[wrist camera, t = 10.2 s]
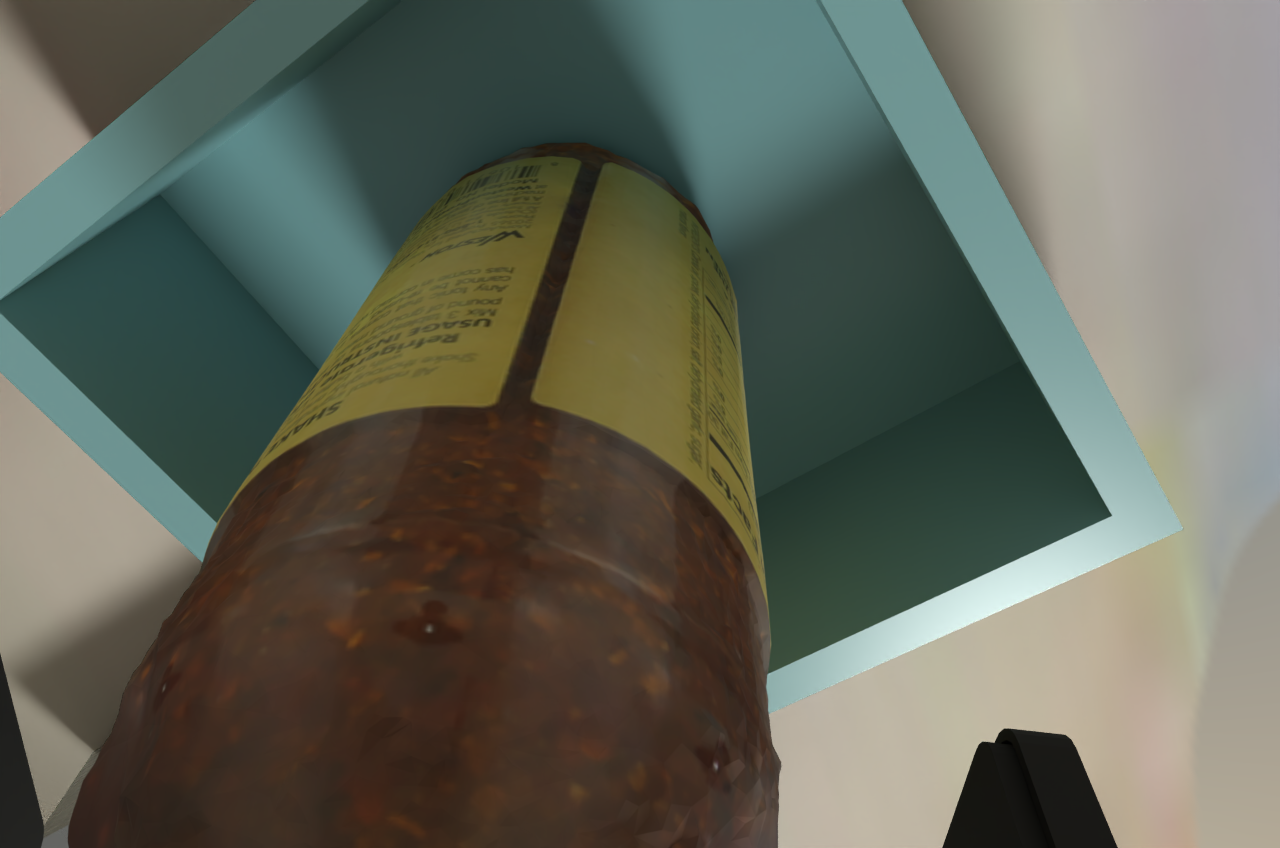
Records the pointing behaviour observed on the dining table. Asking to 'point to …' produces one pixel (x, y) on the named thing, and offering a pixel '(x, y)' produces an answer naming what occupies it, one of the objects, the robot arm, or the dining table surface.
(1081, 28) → the dining table surface
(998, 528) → the bin
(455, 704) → the sauce bottle
